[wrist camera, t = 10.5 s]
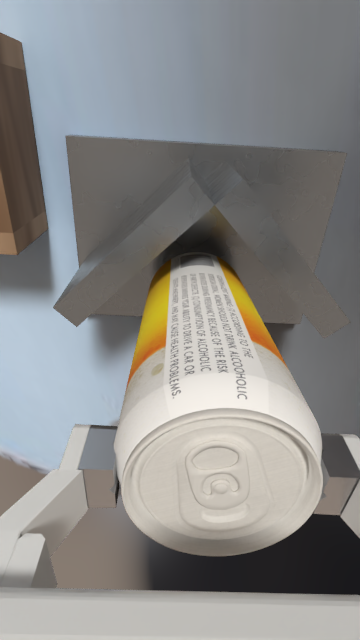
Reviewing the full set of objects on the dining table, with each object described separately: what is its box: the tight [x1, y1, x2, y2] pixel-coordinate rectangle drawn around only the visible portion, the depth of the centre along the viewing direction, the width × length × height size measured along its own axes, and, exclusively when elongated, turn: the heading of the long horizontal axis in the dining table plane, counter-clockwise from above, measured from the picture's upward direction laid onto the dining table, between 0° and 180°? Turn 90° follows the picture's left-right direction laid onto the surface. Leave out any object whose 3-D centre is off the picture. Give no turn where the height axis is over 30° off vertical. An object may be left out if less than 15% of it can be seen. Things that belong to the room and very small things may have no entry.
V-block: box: [53, 135, 350, 338], centre depth 20 cm, size 16×12×8 cm
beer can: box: [114, 252, 323, 556], centre depth 16 cm, size 6×6×15 cm
